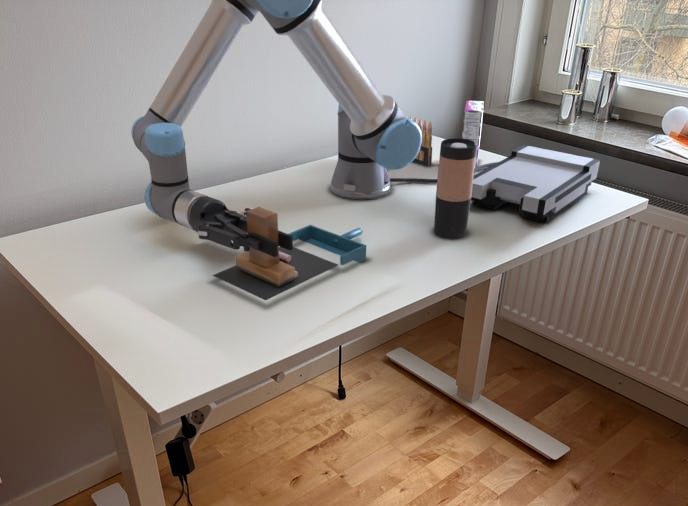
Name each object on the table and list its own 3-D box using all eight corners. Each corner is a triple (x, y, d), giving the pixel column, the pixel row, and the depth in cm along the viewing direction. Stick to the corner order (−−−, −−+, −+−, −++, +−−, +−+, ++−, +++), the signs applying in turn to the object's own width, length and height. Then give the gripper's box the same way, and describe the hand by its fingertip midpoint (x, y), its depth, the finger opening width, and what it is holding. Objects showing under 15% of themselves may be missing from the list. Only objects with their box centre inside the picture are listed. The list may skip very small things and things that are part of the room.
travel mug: (425, 232, 157) (433, 143, 146) (445, 223, 162) (454, 135, 151) (454, 242, 153) (463, 150, 142) (473, 232, 158) (484, 142, 147)
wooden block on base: (252, 260, 141) (248, 200, 134) (295, 279, 134) (293, 217, 127) (236, 267, 138) (231, 207, 131) (278, 286, 131) (275, 224, 124)
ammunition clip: (399, 157, 203) (401, 115, 196) (403, 156, 204) (405, 114, 197) (427, 166, 196) (430, 122, 190) (431, 165, 197) (435, 121, 191)
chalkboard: (286, 250, 149) (286, 243, 149) (338, 271, 141) (338, 264, 140) (213, 282, 137) (212, 275, 136) (265, 307, 129) (265, 300, 128)
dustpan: (342, 271, 141) (342, 256, 139) (286, 249, 150) (285, 234, 148) (389, 248, 151) (390, 233, 149) (334, 228, 159) (334, 214, 158)
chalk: (275, 255, 144) (276, 248, 144) (291, 262, 142) (292, 255, 141) (270, 255, 143) (271, 249, 143) (286, 262, 141) (287, 255, 140)
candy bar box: (460, 159, 202) (466, 99, 193) (477, 160, 201) (484, 100, 192) (458, 171, 193) (464, 110, 184) (476, 172, 192) (483, 111, 183)
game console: (459, 209, 169) (463, 175, 165) (518, 175, 191) (523, 144, 186) (540, 230, 159) (546, 195, 154) (593, 191, 180) (600, 160, 175)
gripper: (234, 220, 149) (314, 251, 136) (172, 243, 139) (252, 279, 126) (231, 185, 145) (313, 214, 132) (167, 207, 135) (249, 240, 122)
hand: (283, 246), depth 129 cm, fingers closed on wooden block on base, 3 cm apart
